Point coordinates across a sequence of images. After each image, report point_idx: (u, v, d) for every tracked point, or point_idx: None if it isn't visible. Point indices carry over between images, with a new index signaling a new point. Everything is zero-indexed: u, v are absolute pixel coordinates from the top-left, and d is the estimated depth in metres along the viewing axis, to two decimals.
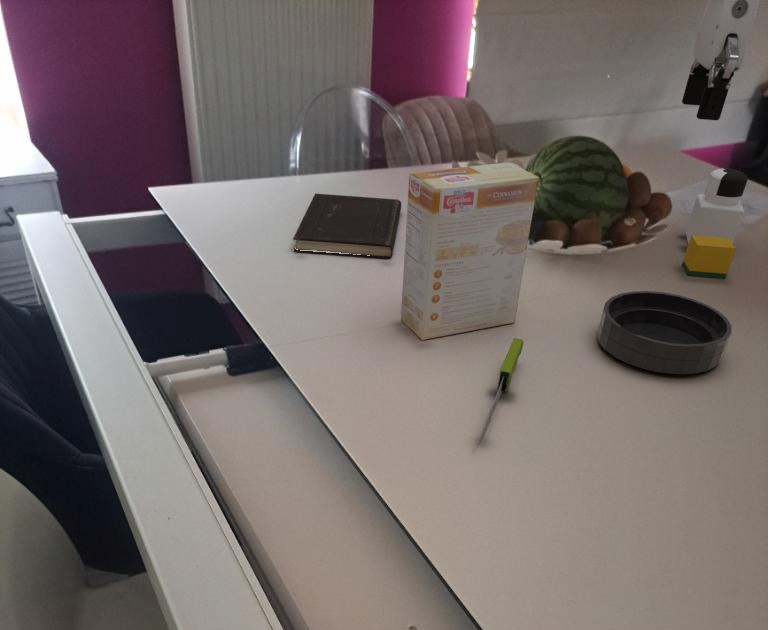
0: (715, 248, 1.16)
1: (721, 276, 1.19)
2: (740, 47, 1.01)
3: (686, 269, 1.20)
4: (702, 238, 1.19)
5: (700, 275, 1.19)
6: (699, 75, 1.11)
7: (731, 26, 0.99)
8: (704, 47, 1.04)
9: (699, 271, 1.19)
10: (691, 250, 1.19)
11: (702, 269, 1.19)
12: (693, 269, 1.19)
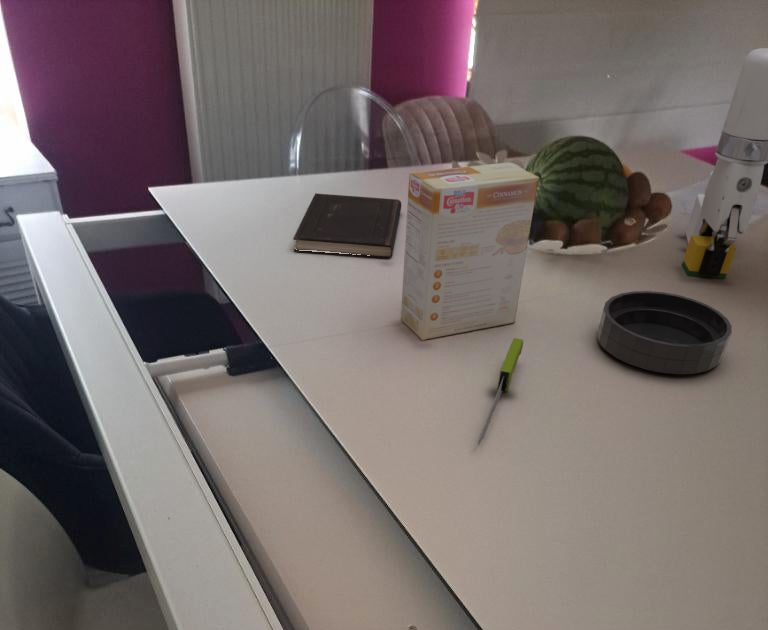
0: None
1: (721, 276, 1.19)
2: (744, 216, 1.10)
3: (686, 269, 1.20)
4: (702, 238, 1.19)
5: (700, 275, 1.19)
6: None
7: (736, 199, 1.09)
8: (711, 211, 1.14)
9: None
10: (691, 250, 1.19)
11: None
12: (693, 269, 1.19)
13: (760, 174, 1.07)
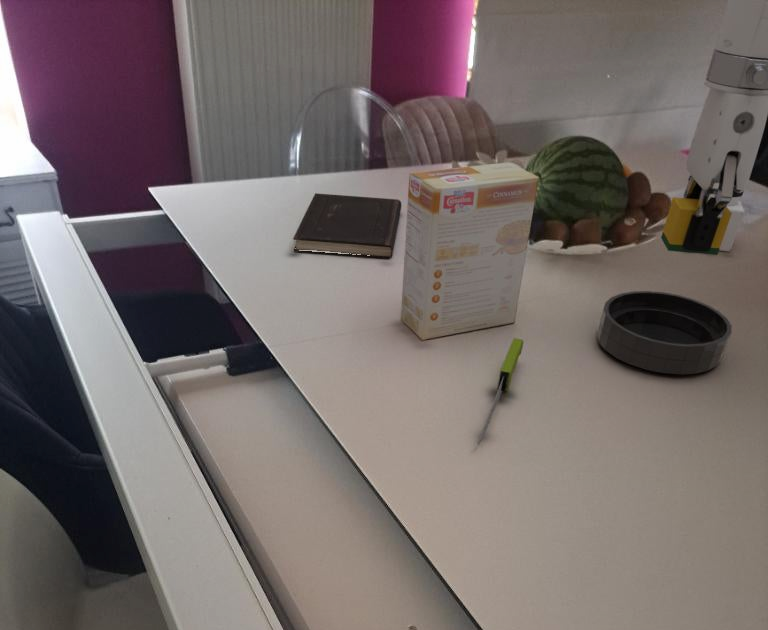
0: None
1: (712, 252, 0.90)
2: (744, 167, 0.81)
3: (666, 242, 0.91)
4: (687, 200, 0.90)
5: (684, 250, 0.90)
6: None
7: (732, 143, 0.80)
8: (699, 162, 0.84)
9: None
10: (672, 217, 0.90)
11: None
12: (675, 242, 0.89)
13: (766, 108, 0.78)
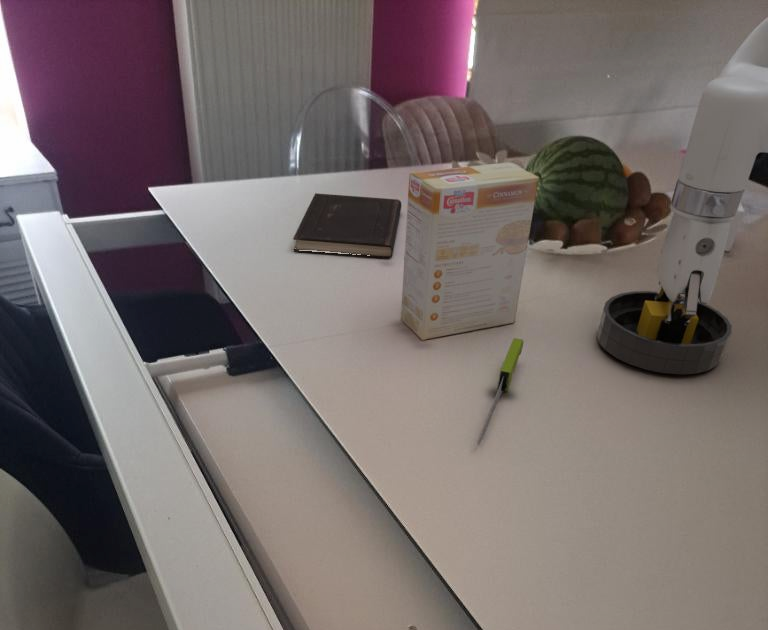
0: None
1: None
2: (706, 284, 0.88)
3: None
4: (658, 304, 0.97)
5: None
6: None
7: (696, 263, 0.87)
8: (667, 275, 0.92)
9: None
10: (644, 320, 0.97)
11: None
12: None
13: (725, 234, 0.85)
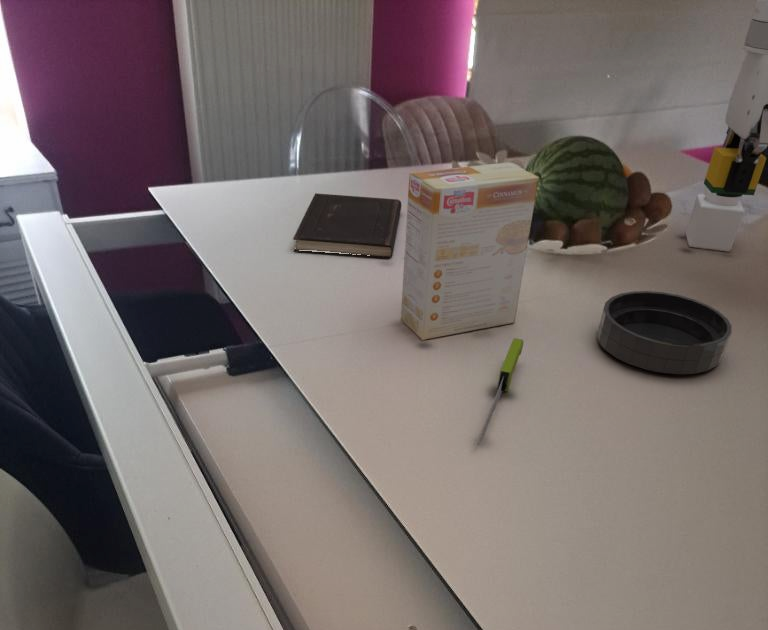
0: None
1: (749, 192, 1.05)
2: None
3: (709, 186, 1.07)
4: (727, 149, 1.05)
5: (725, 192, 1.06)
6: None
7: None
8: (738, 115, 1.00)
9: None
10: (715, 164, 1.05)
11: None
12: (717, 185, 1.05)
13: None
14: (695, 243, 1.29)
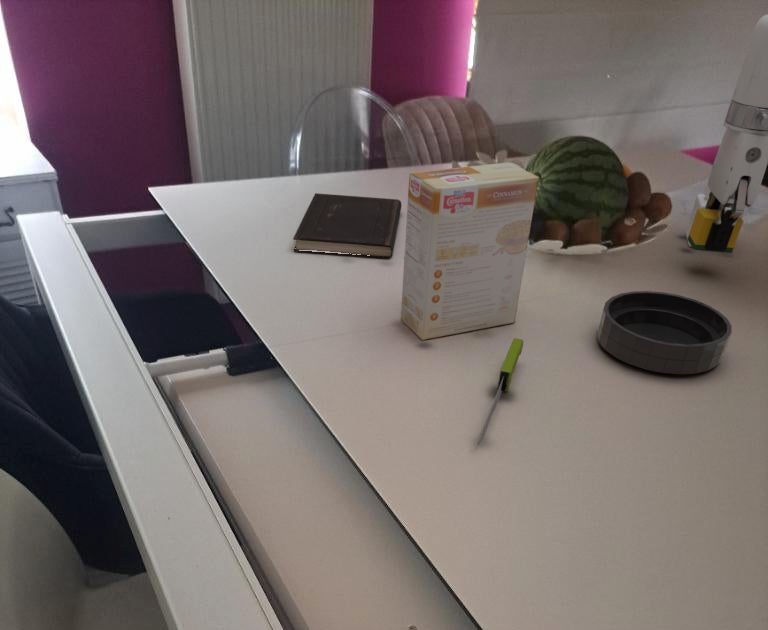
0: None
1: (727, 250, 1.16)
2: (753, 187, 1.08)
3: (692, 243, 1.18)
4: (708, 211, 1.16)
5: None
6: None
7: (745, 169, 1.06)
8: (719, 183, 1.11)
9: None
10: (697, 224, 1.16)
11: None
12: (699, 243, 1.16)
13: None
14: None
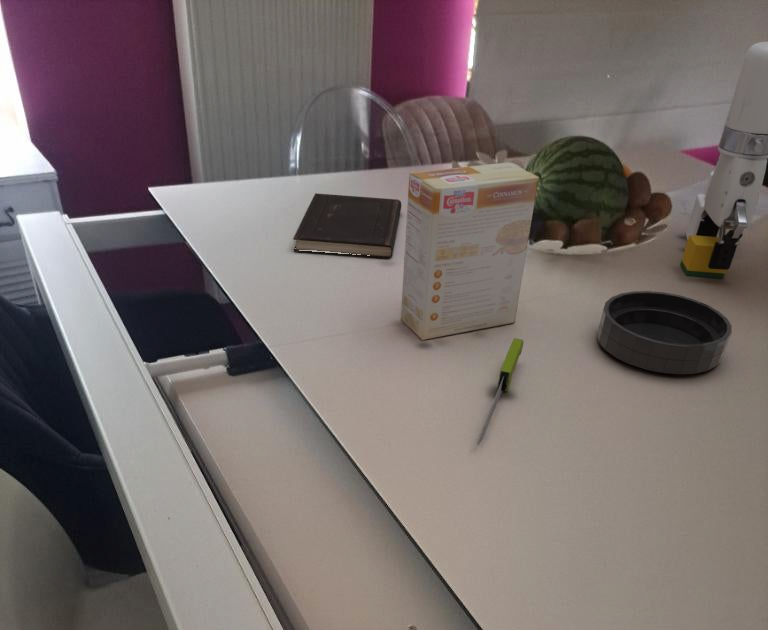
0: (713, 247, 1.16)
1: (719, 276, 1.19)
2: (748, 210, 1.10)
3: (684, 269, 1.20)
4: (700, 237, 1.19)
5: (698, 275, 1.19)
6: (709, 221, 1.20)
7: (739, 193, 1.08)
8: (714, 206, 1.13)
9: (697, 271, 1.19)
10: (689, 250, 1.19)
11: (700, 269, 1.19)
12: (691, 269, 1.19)
13: (764, 169, 1.07)
14: None
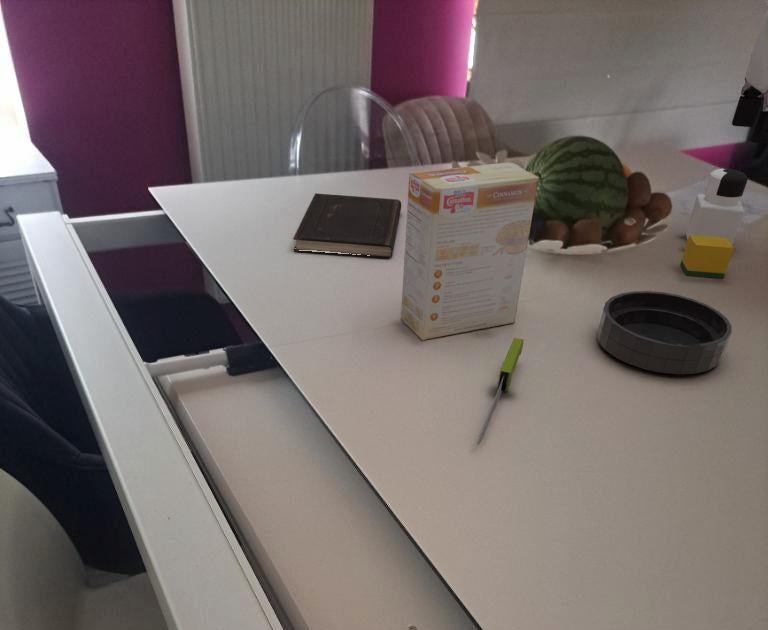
0: (713, 247, 1.16)
1: (719, 276, 1.19)
2: None
3: (684, 269, 1.20)
4: (700, 237, 1.19)
5: (698, 275, 1.19)
6: (750, 97, 1.10)
7: None
8: (759, 70, 1.03)
9: (697, 271, 1.19)
10: (689, 250, 1.19)
11: (700, 269, 1.19)
12: (691, 269, 1.19)
13: None
14: None
